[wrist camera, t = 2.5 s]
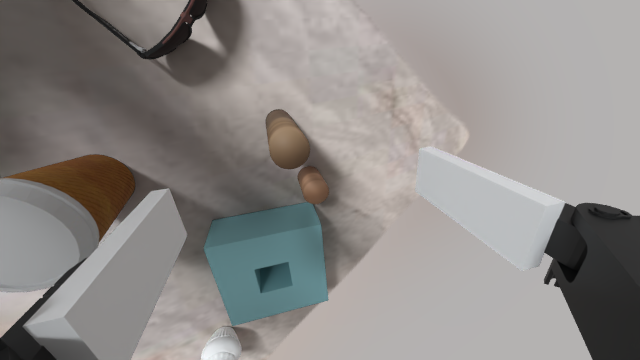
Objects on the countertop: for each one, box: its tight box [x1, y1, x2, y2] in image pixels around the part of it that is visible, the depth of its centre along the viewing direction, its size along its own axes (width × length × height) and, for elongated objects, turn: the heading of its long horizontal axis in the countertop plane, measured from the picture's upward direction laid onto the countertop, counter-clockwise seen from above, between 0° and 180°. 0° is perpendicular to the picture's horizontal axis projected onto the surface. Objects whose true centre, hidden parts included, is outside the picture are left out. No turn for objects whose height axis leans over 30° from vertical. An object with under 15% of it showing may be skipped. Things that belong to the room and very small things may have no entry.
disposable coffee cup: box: [0, 155, 135, 292], centre depth 22 cm, size 10×10×12 cm
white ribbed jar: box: [201, 326, 242, 360], centre depth 38 cm, size 6×6×7 cm
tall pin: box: [266, 109, 310, 169], centre depth 24 cm, size 3×3×12 cm
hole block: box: [204, 202, 328, 326], centre depth 34 cm, size 14×14×6 cm
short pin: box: [298, 166, 329, 204], centre depth 31 cm, size 3×3×5 cm
